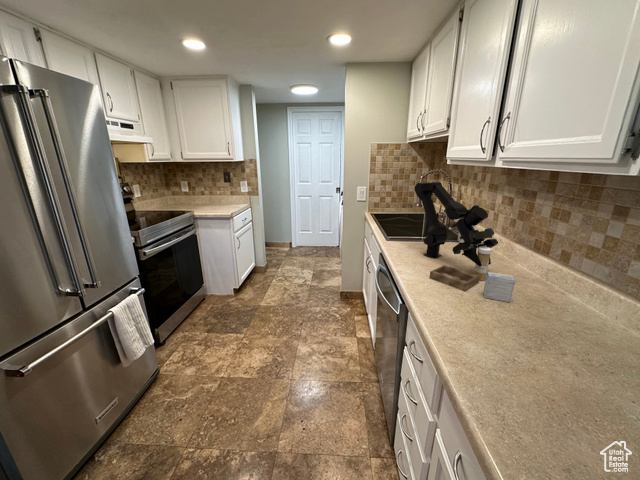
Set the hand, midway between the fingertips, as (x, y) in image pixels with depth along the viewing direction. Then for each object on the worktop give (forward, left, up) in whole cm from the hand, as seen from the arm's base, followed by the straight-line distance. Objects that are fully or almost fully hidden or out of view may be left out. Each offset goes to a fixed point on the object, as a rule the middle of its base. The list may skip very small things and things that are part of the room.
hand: (485, 265), depth 105 cm
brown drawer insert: (+10, -7, -7) cm, 14 cm away
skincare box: (-44, -28, -7) cm, 52 cm away
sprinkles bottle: (0, -1, -7) cm, 7 cm away
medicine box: (+11, +9, -7) cm, 16 cm away
